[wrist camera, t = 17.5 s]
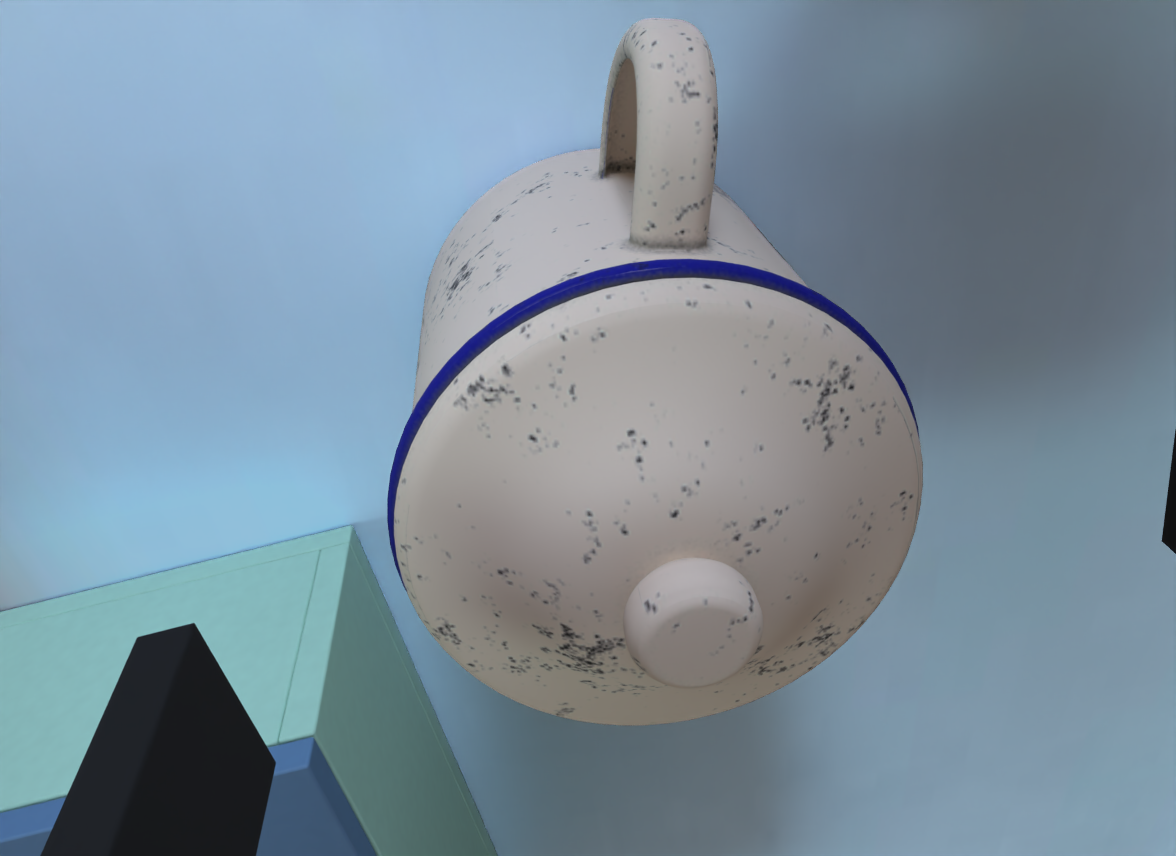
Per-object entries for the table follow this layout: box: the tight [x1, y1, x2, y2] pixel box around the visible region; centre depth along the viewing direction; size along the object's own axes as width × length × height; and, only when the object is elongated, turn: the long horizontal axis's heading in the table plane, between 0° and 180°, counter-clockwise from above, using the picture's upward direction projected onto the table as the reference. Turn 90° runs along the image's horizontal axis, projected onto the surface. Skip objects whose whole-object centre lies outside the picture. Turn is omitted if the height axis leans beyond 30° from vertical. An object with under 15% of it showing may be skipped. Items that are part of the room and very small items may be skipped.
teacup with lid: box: [388, 18, 923, 725], centre depth 17 cm, size 12×9×12 cm
